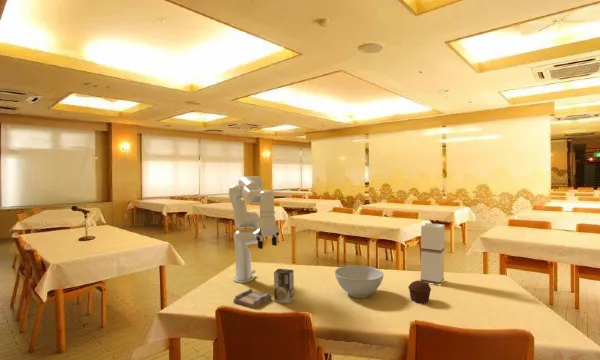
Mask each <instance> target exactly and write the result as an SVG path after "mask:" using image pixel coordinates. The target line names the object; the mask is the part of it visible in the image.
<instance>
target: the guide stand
mask: <svg viewBox="0 0 600 360" xmlns="http://www.w3.org/2000/svg"><path fill="white" fill-rule="evenodd" d="M234 297H235V298H233V303H234V304H236V305H241V306H244V307H248V308H250V309H251V308H252V309H254V308H255V309H256V308H258V307H260V306H261V305H262V306H263V304H265V303H267V302H269V301H271V300H272V295H271V293H270V292H267V293H262V292H259V291H254V290H253V289H252V288H248V289H247V290H245V291H242V292H239V293H238V294H235V296H234Z"/></svg>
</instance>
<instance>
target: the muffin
mask: <svg viewBox="0 0 600 360" xmlns="http://www.w3.org/2000/svg"><path fill="white" fill-rule="evenodd" d="M408 290H409V295H410V296H409V297H410V300H411V302H413V301H414V303H415V302H416V304H420V303H423V304H427V303H429V302H428V301H430V295H431V290H432V288H431V286H430V284H427V283H426V282H424V281H421V280H415V281H412V282H411V283H410V284H409V285H408Z"/></svg>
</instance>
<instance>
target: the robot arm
mask: <svg viewBox="0 0 600 360" xmlns="http://www.w3.org/2000/svg"><path fill="white" fill-rule="evenodd" d="M237 183H238V184H235V185H231V186H230V187H229V188H228V196H229V197H228V198H229V200H230V203H231V205H232V210H233V211H232V212H233V220H234V225H235V228H239V230H236V231H235V232H234V234H233V241H234V250H235V252H234V253H235V254H234V255H235V276H234V277H233V280H232V281H233V282H235V283H238V284H239V283H240V284H244V283H249V282H252V281H253V280H254V278H255V277H254V276H253V274H255V273H256V270H255V269H254V270H252V253H251V250H250V248H249V247H248V245H254V244H257V248H258V249H259V250H262V249H264V247H263V246H264V241H263V239H264V238H267V237H271V245H272V246H278V245H277V244H278V241H277V239H278V237H279V235H280V232H281V228H279V227H277V219H276V217H275V214H276V211H275V192H274V191H273V190H270V189H263V185H264V181H263V179H262V177H260V176H258V175H254V176H253V175H252V176H251V175H250V176H247V175H246V176H242V177H240V179H238V182H237ZM245 202H246V203H245ZM247 204H249V205H259V213H258V212H256V211H248V208H247ZM240 228H246V229H240ZM249 228H250V229H249Z"/></svg>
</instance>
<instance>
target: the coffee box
mask: <svg viewBox="0 0 600 360" xmlns="http://www.w3.org/2000/svg"><path fill="white" fill-rule="evenodd" d="M294 279H295V278H294V269H287V268H277V269H276V270H275V271H274V272H273V283H274V284H273V285H274V286H273V287H274V290H273V296H274V300H273V302H275V303H282V304H288V305H289V304H291V303H292V302H293V301H294V300H295V299H294V298H295V297H294V296H295V292H294V291H295V290H294V288H295V287H294V285H295V283H294V282H295V281H294Z"/></svg>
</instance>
